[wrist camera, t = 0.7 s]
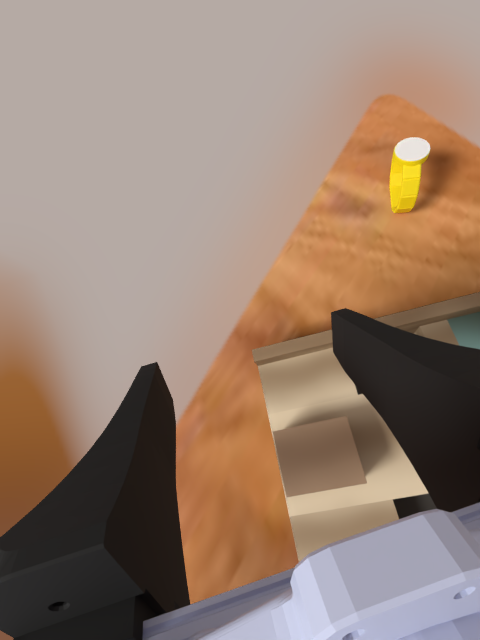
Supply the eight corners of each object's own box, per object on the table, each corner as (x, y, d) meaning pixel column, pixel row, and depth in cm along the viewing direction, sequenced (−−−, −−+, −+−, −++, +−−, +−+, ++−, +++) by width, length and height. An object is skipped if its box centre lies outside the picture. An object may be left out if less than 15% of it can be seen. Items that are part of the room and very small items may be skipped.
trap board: (634, 548, 19) (705, 572, 16) (310, 590, 23) (307, 618, 19) (495, 303, 26) (522, 281, 23) (260, 361, 29) (251, 349, 26)
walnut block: (362, 478, 22) (367, 483, 19) (291, 491, 23) (286, 497, 20) (344, 419, 24) (346, 415, 21) (278, 433, 24) (272, 431, 22)
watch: (380, 180, 34) (390, 126, 28) (409, 177, 33) (425, 121, 28) (385, 224, 31) (397, 174, 26) (417, 222, 30) (435, 170, 25)
